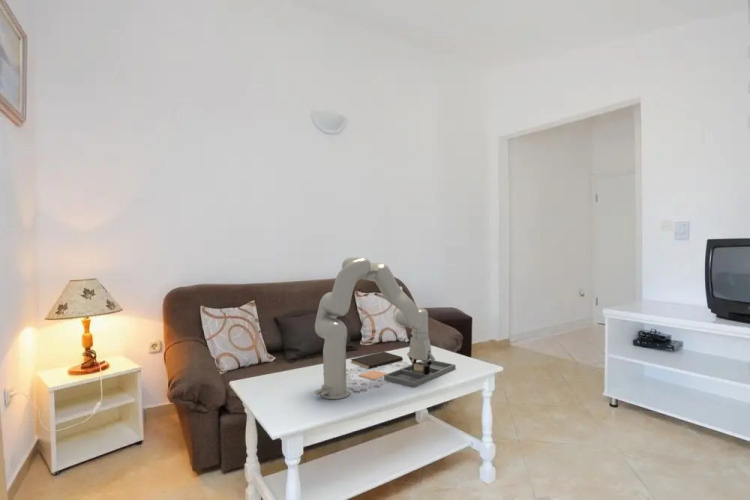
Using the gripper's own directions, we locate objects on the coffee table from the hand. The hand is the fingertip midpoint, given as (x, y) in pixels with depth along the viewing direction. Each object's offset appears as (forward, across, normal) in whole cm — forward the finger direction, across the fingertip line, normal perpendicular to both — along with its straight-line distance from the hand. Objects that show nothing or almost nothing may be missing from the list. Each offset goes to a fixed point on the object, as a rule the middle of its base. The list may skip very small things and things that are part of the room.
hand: (421, 372), depth 197 cm
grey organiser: (+1, 0, 0) cm, 1 cm away
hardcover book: (+2, -32, +4) cm, 33 cm away
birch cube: (+1, 0, 0) cm, 1 cm away
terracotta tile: (+1, -17, -15) cm, 23 cm away
